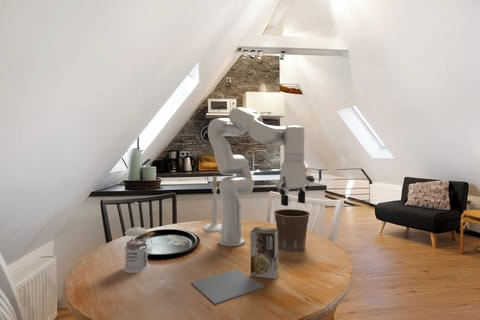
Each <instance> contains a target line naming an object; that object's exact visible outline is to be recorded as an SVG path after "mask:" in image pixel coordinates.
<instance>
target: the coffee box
mask: <svg viewBox="0 0 480 320" xmlns="http://www.w3.org/2000/svg"><path fill="white" fill-rule="evenodd" d="M249 235H250V237H249V238H250V241H249V242H250V244H249V245H250V277H258V278H265V279H273V280H275V279H277V276H278V274H279V247H278V229H277V228H270V227H260V226H259V227H258V226H256V227H255V226H254V228H252V230H250V232H249Z"/></svg>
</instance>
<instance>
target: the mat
mask: <svg viewBox="0 0 480 320" xmlns="http://www.w3.org/2000/svg"><path fill="white" fill-rule="evenodd" d="M190 284H191V285H192V286H194V287H195V288H196V289H197V290H198V291H199V292H200V293H201V294H202V295H203V296H204V297H206V298H207V299H208V301H210V302H211V303H212V304H213V305H215V306H216V305H218V304H221V303H224V302H227V301H230V300H233V299H236V298H239V297H242V296H244V295H248V294H250V293H253V292H255V291H258V290H262V289H265V285H263V284H262V283H260V282H258V281H256V280H255V279H253V278H252V277H251V276H248V275H247V274H245V273H243V272H242V271H240V270H239V269H234V270H230V271H227V272H223V273H220V274H217V275H212V276H208V277H205V278H201V279H198V280H195V281H191V283H190Z"/></svg>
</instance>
